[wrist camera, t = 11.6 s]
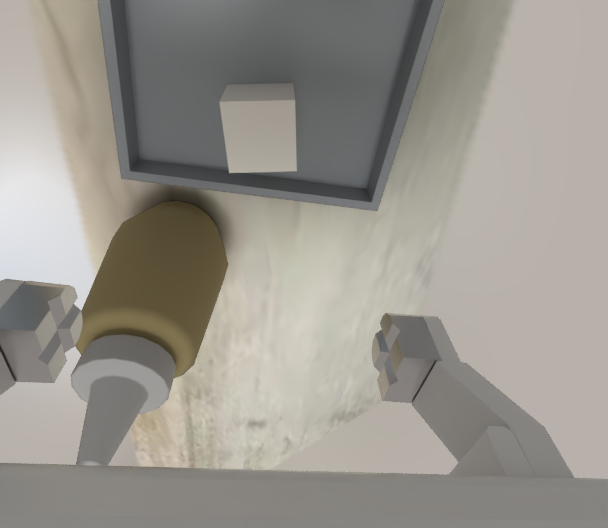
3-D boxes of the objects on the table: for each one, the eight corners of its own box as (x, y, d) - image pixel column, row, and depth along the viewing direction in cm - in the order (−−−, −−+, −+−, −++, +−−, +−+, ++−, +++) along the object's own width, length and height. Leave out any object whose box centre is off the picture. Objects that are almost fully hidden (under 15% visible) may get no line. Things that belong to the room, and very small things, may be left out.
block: (227, 84, 23) (219, 101, 20) (293, 83, 23) (295, 100, 20) (235, 148, 26) (229, 173, 22) (295, 147, 26) (296, 171, 22)
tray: (99, -150, 17) (75, -168, 15) (448, -68, 20) (467, -73, 18) (133, 162, 26) (121, 178, 24) (370, 194, 29) (377, 211, 27)
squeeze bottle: (254, 238, 31) (230, 467, 16) (185, 286, 33) (113, 519, 19) (176, 164, 27) (55, 382, 12) (106, 226, 29) (-61, 463, 15)
